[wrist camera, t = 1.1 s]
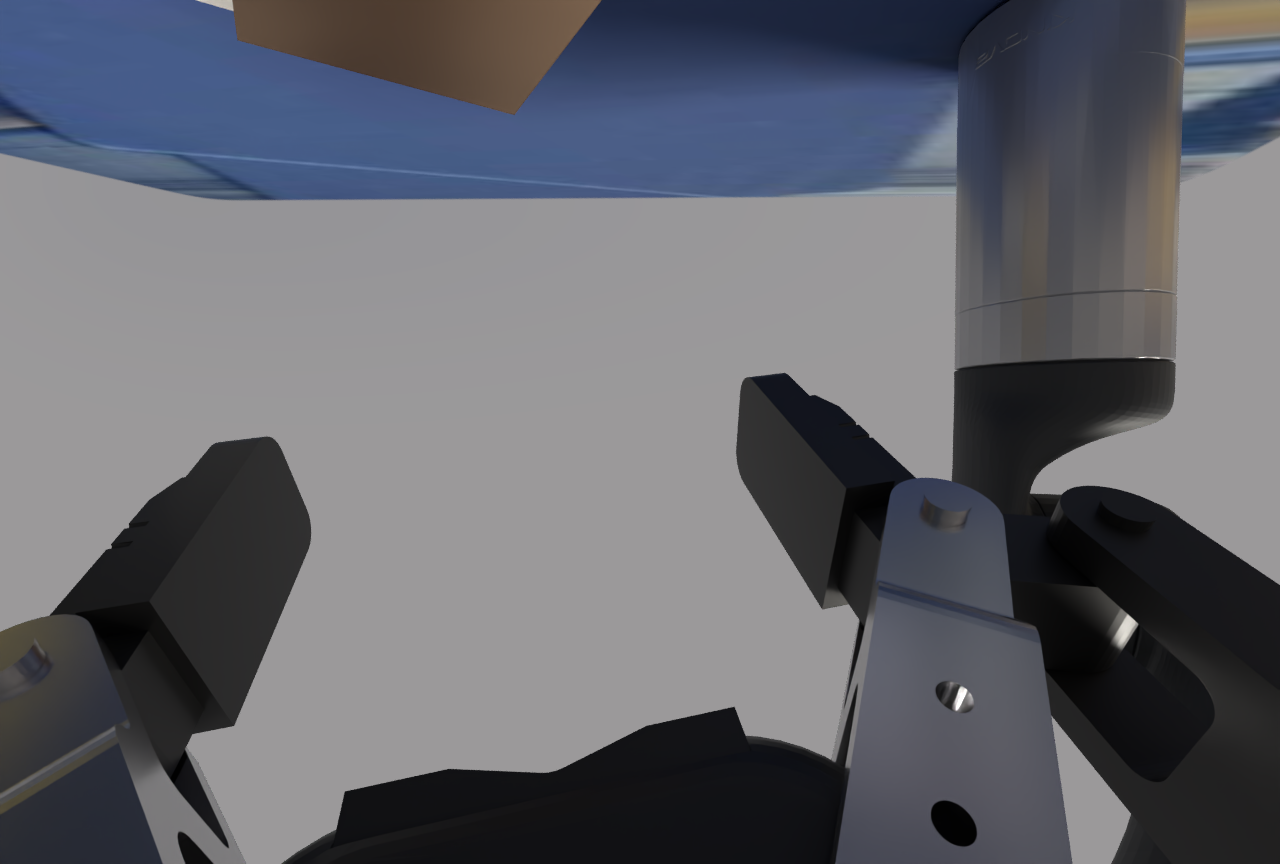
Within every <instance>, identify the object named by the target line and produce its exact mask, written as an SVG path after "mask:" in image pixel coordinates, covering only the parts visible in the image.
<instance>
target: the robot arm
mask: <svg viewBox="0 0 1280 864" xmlns="http://www.w3.org/2000/svg"><path fill="white" fill-rule="evenodd" d="M1185 16H1186V0H1010V1H1009V2H1007V3H1005V4H1004V5H1002V6H1001V7H999V8H998V9H996V10H995V11H994V12H992V13H991V14H990V15H989V16H987V17H986V18H985V19H984V20H982V21H981V22H980V23H979V24H978V25H977V26H976V27H975V28H974V29H973V30H972V32H971V33H970V34H969V35H968V36H967V38H966V39H965V41H964V43H963V44H962V46H961V49H960V53H959V57H958V128H957V194H956V198H957V199H956V289H955V292H956V293H955V299H956V300H955V317H956V318H955V370H958V371H955V372H954V377H955V378H954V380H955V381H954V430H953V469H952V482H951V481H947V480H942V479H935V478H915V477H914V476H913V475H912V474H911V473H910V472H909V471H908V470H907V469H906V468H905V467H903V466H902V465H901V464H900V463H899V462H898V461H897V460H896V459H895V458H894V457H893V456H892V455H890V453H888V452H887V451H886V450H885V449H884V448H883V447H882V446H881V445H880V444H879V443H878V442H877V441H876V440H874V438H869V434H868V433H867V432H866V431H865V430H864V429H863V428H862V427H861V426H860V425H856V422H855V421H854V420H853V419H852V418H851V417H850V416H849V415H848V414H846V412H844V411H843V410H842V409H841V408H840V407H839V406H837V405H835V404H833V403H831V402H829V401H827V400H824V399H822V398H820V397H818V396H816V395H812V396H809V395H808V394H807V393H806V392H805V391H804V390H803V389H802V388H801V387H800V386H799V385H798V384H797V383H796V382H795V381H794V380H793V379H792V378H791V377H790V376H789V375H788V374H786V373H781V374H772V375H765V376H755V377H747V378H745V379H744V381H743V382H742V385H741V391H740V405H739V420H738V434H737V447H736V448H737V449H736V454H737V464H738V469H739V472H740V475H741V478H742V480H743V482H744V484H745V485H746V487H747V489H748V490H749V492H750V493H751V495H752V496H753V498H754V500H755V502H756V503H757V505H758V506H759V508H760V510H761V511H762V513H763V514H764V516H765V518H766V519H767V521H768V522H769V524H770V526H771V527H772V529H773V531H774V532H775V534H776V535H777V537H778V539H779V540H780V542H781V543H782V545H783V547H784V548H785V550H786V552H787V553H788V555H789V556H790V558H791V560H792V561H793V563H794V564H795V566H796V568H797V569H798V571H799V573H800V574H801V576H802V577H803V579H804V581H805V582H806V584H807V586H808V587H809V589H810V590H811V592H812V593H813V595H814V597H815V598H816V600H817V602H818V603H819V605H820V606H821V608H822V609H826V608H831V607H837V606H842V605H847V604H849V605H850V606H851V608H852V609H853V611H854V612H855V614H856V615H857V617H858V618H859V622H858V626H857V630H856V635H855V641H854V646H853V651H852V657H851V662H850V668H849V673H848V678H847V684H846V689H845V694H844V700H843V705H842V711H841V716H840V722H839V727H838V731H837V737H836V741H835V746H834V750H833V754H832V759H831V760H830V759H828V758H826V757H825V756H822V755H820V754H817V753H815V752H813V751H810V750H808V749H806V748H803V747H800V746H797V745H794V744H790V743H787V742H783V741H780V740H774V739H769V738H763V737H754V736H745V734H744V731H743V728H742V725H741V723H740V720H739V717H738V715H737V712H736V710H735V707H732V708H727V709H722V710H718V711H713V712H708V713H704V714H700V715H695V716H690V717H686V718H681V719H676V720H672V721H667V722H663V723H658V724H653V725H649V726H645V727H644V728H642V729H639V730H638V731H635V732H633V733H632V734H630V735H628V736H626V737H624V738H622V739H620V740H618V741H616V742H614V743H612V744H610V745H608V746H606V747H604V748H602V749H600V750H598V751H596V752H594V753H592V754H590V755H588V756H586V757H584V758H582V759H580V760H578V761H576V762H574V763H572V764H570V765H568V766H566V767H564V768H562V769H559V770H557V771H554V772H549V773H530V772H506V771H483V770H460V769H447V770H442V771H438V772H433V773H428V774H424V775H419V776H414V777H410V778H405V779H401V780H396V781H391V782H387V783H382V784H378V785H373V786H368V787H364V788H360V789H355V790H350V791H345V793H344V798H343V802H342V807H341V811H340V816H339V820H338V825H337V829H336V830H335V831H333V832H331V833H329V834H327V835H325V836H323V837H321V838H320V839H318V840H317V841H315V842H313V843H311V844H310V845H308V846H307V847H305V848H303V849H302V850H300V851H298V852H297V853H295V854H294V855H293V856H291V857H290V858H289V859H287V860H286V861H284V862H283V863H282V864H1072V858H1071V851H1070V843H1069V837H1068V830H1067V822H1066V816H1065V808H1064V801H1063V794H1062V788H1061V781H1060V774H1059V768H1058V760H1057V753H1056V746H1055V739H1054V732H1053V725H1052V718H1051V716H1052V717H1053V718H1054V719H1055V720H1056V722H1057V723H1058V724H1059V725H1060V727H1061V728H1062V729H1063V730H1064V732H1065V733H1066V734H1067V735H1068V736H1069V738H1070V739H1071V740H1072V741H1073V743H1074V744H1075V745H1076V746H1077V748H1078V749H1079V750H1080V751H1081V752H1082V754H1083V755H1084V756H1085V757H1086V759H1087V760H1088V761H1089V762H1090V763H1091V765H1092V766H1093V767H1094V768H1095V770H1096V771H1097V772H1098V773H1099V774H1100V776H1101V777H1102V778H1103V779H1104V781H1105V782H1106V783H1107V784H1108V786H1109V787H1110V788H1111V789H1112V791H1113V792H1114V793H1115V794H1116V795H1117V797H1118V798H1119V799H1120V800H1121V802H1122V803H1123V804H1124V805H1125V807H1126V808H1127V809H1128V810H1129V812H1130V813H1131V817H1130V819H1129V823H1128V826H1127V829H1126V832H1125V834H1124V837H1123V839H1122V841H1121V843H1120V846H1119V848H1118V850H1117V853H1116V855H1115V858H1114V859H1113V861H1112V863H1111V864H1280V585H1279V584H1277V583H1276V582H1274V581H1273V580H1271V579H1270V578H1268V577H1267V576H1265V575H1264V574H1262V573H1261V572H1259V571H1258V570H1257V569H1255V568H1254V567H1252V566H1250V565H1249V564H1248V563H1246V562H1245V561H1243V560H1241V559H1240V558H1239V557H1237V556H1236V555H1234V554H1233V553H1231V552H1230V551H1228V550H1227V549H1225V548H1224V547H1222V546H1221V545H1219V544H1218V543H1216V542H1215V541H1213V540H1212V539H1210V538H1209V537H1207V536H1206V535H1205V534H1203V533H1201V532H1200V531H1199V530H1197V529H1196V528H1194V527H1193V526H1191V525H1190V524H1188V523H1187V522H1185V521H1183V520H1182V519H1181V518H1180V517H1179V516H1178V515H1176V514H1175V513H1174V512H1173V511H1171V510H1170V509H1168V508H1166V507H1164V506H1162V505H1159V504H1157V503H1154V502H1152V501H1150V500H1148V499H1145V498H1143V497H1141V496H1138V495H1135V494H1132V493H1129V492H1125V491H1122V490H1118V489H1113V488H1107V487H1100V486H1080V487H1074V488H1071V489H1069V490H1067V491H1066V492H1064V493H1063V494H1062V495H1053V494H1052V495H1051V494H1030V490H1031V486H1032V484H1033V481H1034V479H1035V478H1036V476H1037V475H1038V473H1039V472H1040V471H1041V470H1042V469H1043V468H1044V467H1045V466H1047V465H1048V464H1050V463H1051V462H1053V461H1054V460H1056V459H1058V458H1059V457H1061V456H1062V455H1064V454H1066V453H1068V452H1070V451H1072V450H1074V449H1076V448H1078V447H1081V446H1083V445H1085V444H1087V443H1090V442H1093V441H1096V440H1098V439H1101V438H1104V437H1108V436H1111V435H1115V434H1118V433H1121V432H1125V431H1129V430H1133V429H1136V428H1140V427H1143V426H1147V425H1150V424H1152V423H1155V422H1157V421H1159V420H1161V419H1163V418H1164V417H1165V416H1166V415H1167V414H1168V413H1169V412H1170V410H1171V408H1172V405H1173V401H1174V393H1175V363H1174V362H1171V361H1173V360H1174V359H1175V355H1176V354H1175V352H1176V321H1177V319H1176V318H1177V296H1176V295H1177V272H1178V270H1177V269H1178V237H1179V204H1180V203H1179V202H1180V170H1181V136H1182V103H1183V74H1184V52H1185ZM310 541H311V524H310V518H309V514H308V512H307V509H306V506H305V504H304V502H303V499H302V497H301V495H300V492H299V490H298V488H297V485H296V483H295V481H294V478H293V476H292V473H291V471H290V469H289V466H288V464H287V461H286V459H285V457H284V454H283V452H282V450H281V448H280V446H279V445H278V443H277V442H276V441H275V440H274V439H273V438H271V437H260V438H251V439H243V440H236V441H235V440H234V441H226V442H218V443H215V444H213V445H212V446H211V447H210V448H209V449H208V451H207V452H206V453H205V454H204V455H203V456H202V458H201V459H200V460H199V462H198V463H197V464H196V465H195V466H194V467H193V469H192V470H191V471H190V473H189V474H188V475H187V476H186V477H184V478H181V479H179V480H178V481H176V482H175V483H173V484H172V485H171V486H169V487H167V488H166V489H165V490H163V491H162V492H160V493H159V494H157V495H156V496H154V497H153V498H151V499H150V500H149V501H148V502H147V503H146V504H145V506H144V507H143V508H142V509H141V510H140V511H139V512H138V514H137V515H136V516H135V517H134V518H133V520H132V521H131V522H130V523H129V528H127V529H124V530H123V531H122V532H121V533H120V535H119V536H118V537H117V538H116V539H115V541H114V542H113V543H112V544H111V545H112V549H108V550H106V551H105V552H104V553H103V554H102V555H101V557H100V558H99V559H98V560H97V561H96V562H95V564H94V565H93V566H92V567H91V568H90V569H89V570H88V572H87V573H86V574H85V575H84V576H83V578H82V579H81V580H80V581H79V582H78V583H77V584H76V586H75V587H74V588H73V589H72V590H71V592H70V593H69V594H68V595H67V596H66V597H65V598H64V600H63V601H62V602H61V603H60V604H59V605H58V606H57V608H56V609H55V610H54V611H53V612H52V613H51V615H50V616H47V617H41V618H38V619H34V620H31V621H27V622H24V623H21V624H18V625H16V626H13V627H11V628H9V629H6V630H4V631H1V632H0V864H246V862H245V860H244V858H243V856H242V854H241V852H240V850H239V848H238V846H237V843H236V841H235V839H234V837H233V835H232V833H231V831H230V829H229V827H228V824H227V822H226V820H225V818H224V816H223V814H222V812H221V810H220V808H219V806H218V804H217V801H216V799H215V797H214V795H213V793H212V791H211V789H210V787H209V785H208V783H207V780H206V778H205V776H204V774H203V772H202V770H201V768H200V766H199V764H198V762H197V761H196V759H195V758H194V756H193V755H192V754H191V753H190V752H189V750H188V749H187V748H186V746H187V744H188V742H189V740H190V738H191V736H192V734H195V733H200V732H205V731H211V730H216V729H220V728H226V727H231V726H234V725H235V722H236V720H237V718H238V715H239V713H240V710H241V708H242V706H243V703H244V701H245V699H246V696H247V693H248V691H249V689H250V687H251V684H252V682H253V679H254V677H255V675H256V673H257V670H258V668H259V665H260V663H261V661H262V658H263V656H264V654H265V651H266V649H267V646H268V644H269V642H270V639H271V637H272V635H273V632H274V630H275V627H276V625H277V623H278V620H279V618H280V616H281V613H282V611H283V609H284V606H285V603H286V601H287V599H288V596H289V594H290V592H291V589H292V587H293V585H294V582H295V580H296V578H297V575H298V573H299V571H300V568H301V565H302V563H303V561H304V559H305V556H306V554H307V552H308V549H309V545H310Z"/></svg>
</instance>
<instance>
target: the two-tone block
mask: <svg viewBox="0 0 1280 864" xmlns="http://www.w3.org/2000/svg"><path fill="white" fill-rule="evenodd" d="M600 2H601V0H232V3H233V10H234V17H235V25H236V32H237V39H238V40H239V41H242V42H246V43H250V44H254V45H257V46H261V47H265V48H268V49H272V50H276V51H280V52H283V53H287V54H291V55H294V56H298V57H302V58H305V59H309V60H313V61H317V62H320V63H324V64H328V65H331V66H335V67H339V68H342V69H346V70H350V71H354V72H357V73H361V74H365V75H368V76H372V77H376V78H379V79H383V80H387V81H391V82H394V83H398V84H402V85H405V86H409V87H413V88H417V89H420V90H424V91H428V92H431V93H435V94H439V95H442V96H446V97H450V98H454V99H457V100H461V101H465V102H468V103H472V104H476V105H479V106H483V107H487V108H491V109H494V110H498V111H502V112H505V113H509V114H513V115H515V113H516V112H517V111H518V109H519V108H520V107H521V105H522V104H523V103H524V101H525V100H526V99H527V97H528V96H529V95H530V94H531V92H532V91H533V90H534V88H535V87H536V86H537V84H538V83H539V82H540V80H541V79H542V78H543V76H544V75H545V74H546V73H547V71H548V70H549V69H550V67H551V66H552V65H553V63H554V62H555V61H556V59H557V58H558V57H559V55H560V54H561V53H562V52H563V50H564V49H565V48H566V46H567V45H568V44H569V42H570V41H571V40H572V38H573V37H574V36H575V34H576V33H577V32H578V30H579V29H580V28H581V27H582V25H583V24H584V23H585V21H586V20H587V19H588V17H589V16H590V15H591V13H592V12H593V11H594V9H595V8H596V7H597V6H598V4H599V3H600Z"/></svg>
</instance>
